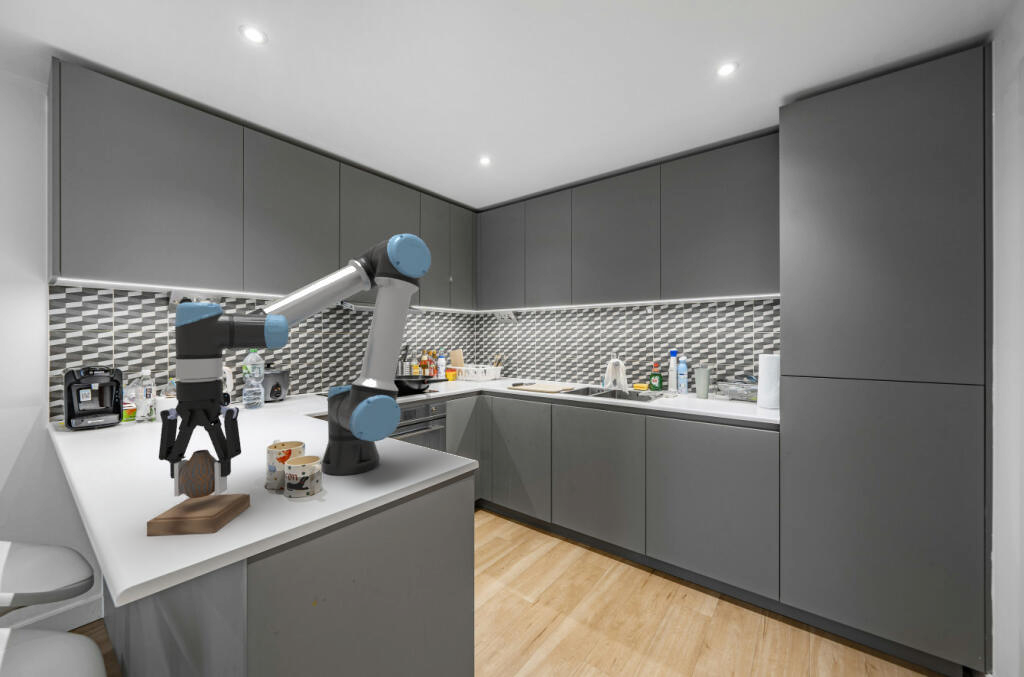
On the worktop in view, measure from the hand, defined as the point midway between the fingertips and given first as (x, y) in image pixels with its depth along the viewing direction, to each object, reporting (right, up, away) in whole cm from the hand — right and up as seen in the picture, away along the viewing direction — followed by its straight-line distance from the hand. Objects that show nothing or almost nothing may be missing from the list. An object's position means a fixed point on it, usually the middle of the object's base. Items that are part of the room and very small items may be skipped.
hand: (201, 492), depth 83 cm
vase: (0, -1, 0) cm, 1 cm away
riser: (0, -6, 0) cm, 6 cm away
